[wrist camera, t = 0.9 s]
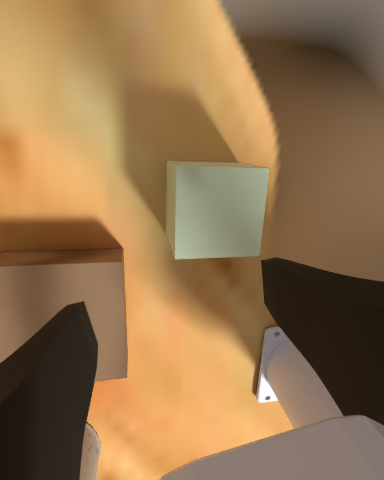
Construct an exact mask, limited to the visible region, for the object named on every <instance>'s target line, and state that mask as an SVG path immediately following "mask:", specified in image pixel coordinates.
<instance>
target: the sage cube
mask: <svg viewBox="0 0 384 480" xmlns="http://www.w3.org/2000/svg"><path fill="white" fill-rule="evenodd" d="M269 172H270V168H265V167H260V166H254V165H249V164H243V163H235V162H195V161H166V235H167V238H168V241H169V244H170V247H171V250H172V253H173V255H174V258H175V259H199V258H225V257H250V256H260V249H261V240H262V232H263V223H264V215H265V206H266V197H267V189H268V180H269Z"/></svg>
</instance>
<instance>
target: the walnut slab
mask: <svg viewBox="0 0 384 480" xmlns="http://www.w3.org/2000/svg"><path fill="white" fill-rule="evenodd" d="M82 301H84V303H85V306H86V309H87V312H88V315H89V318H90V321H91V324H92V327H93V330H94V333H95V336H96V339H97V342H98V360H97V370H96V376H95V381H103V380H112V379H121V378H127V361H128V349H127V325H126V302H125V279H124V255H123V248H114V249H81V250H49V251H17V252H0V363H1V362H2V361H4V360H5V359H6V358H7V357H9V356H10V355H11V354H12V353H13V352H15V351H16V350H17V349H18V348H19V347H20V346H22V345H23V344H24V343H25V342H26V341H27V340H29V339H30V338H31V337H32V336H33V335H34V334H35V333H37V332H38V331H39V330H40V329H41V328H42V327H43V326H44V325H45V324H46V323H47V322H48V321H50V320H51V319H52V318H53V317H54V316H55V315H56V314H57V313H58V312H59V311H60V310H62V309H63V308H64V307H65V306H67V305H69V304H73V303H78V302H82ZM95 381H94V382H95Z"/></svg>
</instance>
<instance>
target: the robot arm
mask: <svg viewBox="0 0 384 480" xmlns="http://www.w3.org/2000/svg"><path fill="white" fill-rule="evenodd" d="M261 264H262V277H263V290H264V303H265V305H266V307H267V308H268V310H269V312H270V314H271V315H272V317H273V319H274V320H275V322H276V323H277V324H278V326H279V327H270V328H268V329H266V331H265V334H264V342H263V349H262V357H261V364H260V372H259V379H258V387H257V394H256V398H257V400H258V402H260V403H263V402H270V401H277V400H278V401H279V403H280V404H281V406H282V408H283V410H284V412H285V413H286V415H287V417H288V419H289V421H290V422H291V424H292V426H293V428H294V429H293V430H289V431H286V432H283V433H280V434H277V435H273V436H270V437H267V438H264V439H260V440H257V441H254V442H251V443H248V444H244V445H241V446H238V447H235V448H232V449H228V450H225V451H222V452H219V453H216V454H212V455H209V456H206V457H203V458H200V459H196V460H193V461H191V462H189V463H187V464H185V465H183V466H181V467H179V468H177V469H175V470H173V471H171V472H169V473H168V474H166V475H164V476H162V477H161V479H160V480H384V282H382V281H374V280H368V279H362V278H355V277H351V276H346V275H341V274H337V273H333V272H329V271H325V270H321V269H317V268H314V267H310V266H307V265H303V264H299V263H296V262H293V261H289V260H285V259H281V258H271V259H266V260H262V261H261ZM276 332H278V333H276ZM275 333H276V334H275ZM97 360H98V342H97V339H96V336H95V333H94V330H93V327H92V324H91V321H90V318H89V315H88V312H87V309H86V306H85V303H84V301H82V302H78V303H73V304H69V305H67V306H65V307H64V308H63V309H62V310H60V311H59V312H58V313H57V314H56V315H55V316H54V317H53V318H52V319H51V320H50V321H48V322H47V323H46V324H45V325H44V326H43V327H42V328H41V329H40V330H39V331H38V332H37V333H35V334H34V335H33V336H32V337H31V338H30V339H29V340H27V341H26V342H25V343H24V344H23V345H22V346H20V347H19V348H18V349H17V350H16V351H15V352H13V353H12V354H11V355H10V356H9V357H7V358H6V359H5V360H4V361H2V362H1V363H0V480H80V468H81V458H82V447H83V439H84V432H85V426H86V421H87V416H88V411H89V406H90V401H91V396H92V391H93V386H94V381H95V376H96V370H97Z"/></svg>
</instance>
